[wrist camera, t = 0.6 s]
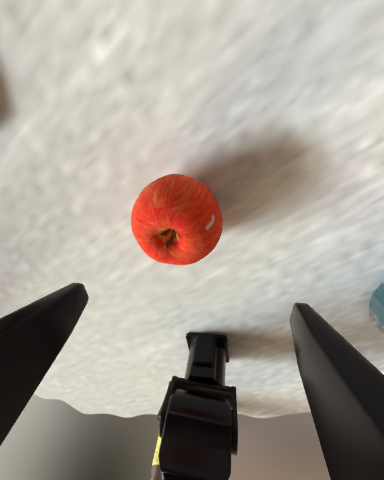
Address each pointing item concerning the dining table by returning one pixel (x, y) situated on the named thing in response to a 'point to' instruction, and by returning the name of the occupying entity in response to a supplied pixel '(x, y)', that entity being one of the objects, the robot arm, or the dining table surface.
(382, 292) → the bowl
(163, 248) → the apple
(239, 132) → the dining table surface
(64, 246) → the dining table surface
